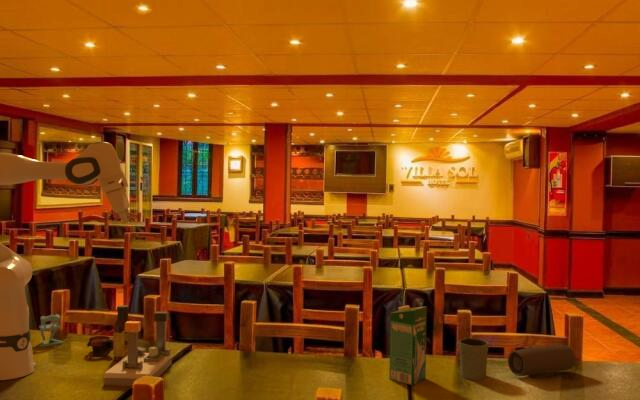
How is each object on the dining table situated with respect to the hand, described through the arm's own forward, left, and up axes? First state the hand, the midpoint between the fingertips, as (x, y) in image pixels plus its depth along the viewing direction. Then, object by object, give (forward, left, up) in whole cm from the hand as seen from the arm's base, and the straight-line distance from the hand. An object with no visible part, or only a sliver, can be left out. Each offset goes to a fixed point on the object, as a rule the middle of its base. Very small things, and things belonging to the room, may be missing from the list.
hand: (127, 222), depth 194 cm
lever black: (+12, +4, -47) cm, 48 cm away
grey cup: (+116, +42, -52) cm, 134 cm away
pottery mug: (-17, +5, -52) cm, 55 cm away
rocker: (+4, +1, -46) cm, 47 cm away
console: (+11, -6, -52) cm, 53 cm away
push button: (+13, -1, -48) cm, 49 cm away
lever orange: (+13, -11, -47) cm, 50 cm away
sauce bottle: (-6, +4, -52) cm, 52 cm away
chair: (-47, +7, -52) cm, 70 cm away
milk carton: (+96, +29, -52) cm, 113 cm away
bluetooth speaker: (+138, +53, -52) cm, 157 cm away
